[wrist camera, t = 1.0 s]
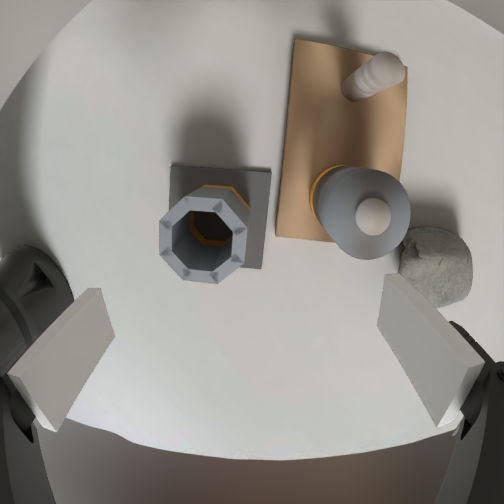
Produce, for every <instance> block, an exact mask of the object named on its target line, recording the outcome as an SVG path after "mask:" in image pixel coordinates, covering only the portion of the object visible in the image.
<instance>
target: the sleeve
mask: <svg viewBox="0 0 504 504" xmlns="http://www.w3.org/2000/svg"><path fill="white" fill-rule="evenodd" d="M250 209H251V208H250V207H249V205H248V204H247V203H246V202H245V201H244V199H243V198H242V197H241V196H240V195H239V194H238V192H237V191H236V190H235V189H234V188H233V187H230V186H216V185H204V186H202V187H200V188H198V189H197V190H195V191H193V192H191V193H190V194H188V195H186V196H185V197H184V198H183V199H182V200H180V201H179V202H178V203H177V204H176V205H175V206H174V207H173V208H172V209H171V210H170V211H169V212H168V213H167V214H166V215H164V216H163V217H162V218H161V219H160V220H159V252H160V256H161V257H162V258H163V259H164V260H165V261H166V262H167V263H168V265H169V266H170V267H171V268H172V269H173V270H174V271H175V272H176V273H177V274H178V275H179V276H180V277H181V278H182V279H183V280H186V281H194V282H204V283H213V284H218V283H219V282H221V281H222V280H223V279H224V278H226V277H227V276H228V275H230V274H231V273H232V272H234V271H235V270H236V269H237V268H239V267H240V266H241V265H243V264H244V261H245V254H246V246H247V239H248V230H249V220H250ZM194 211H205V212H216V213H217V214H218V215H219V217H220V218H221V219H222V220H223V221H224V222H225V223H226V225H227V226H228V227H229V228H230V229H231V230H232V231H233V234H232V235H231V236H230V237H229V238H227V239H226V240H225V241H219V240H208V239H205V237H204V236H203V235H202V234H201V233H200V232H199V231H198V230H197V229H196V227H195V226H194Z"/></svg>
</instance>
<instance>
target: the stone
mask: <svg viewBox="0 0 504 504" xmlns="http://www.w3.org/2000/svg"><path fill="white" fill-rule="evenodd" d="M403 245H404V246H405V250H404V251H403V253H402V255H401V262H400V266H399V270H398V273H399V274H400V275H402V276H403V277H404V278H405V279H406V280H407V281H408V282H409V283H410V284H411V285H412V286H413V287H414V288H415V289H416V290H417V291H418V292H419V293H420V294H422V295H423V296H424V297H425V298H426V299H427V300H428V301H429V302H430V303H431V304H432V305H433V306H434V307H435V308H440V307H444V306H447V305H450V304H453V303H456V302H458V301H461V300H463V299H465V298H466V297H467V296H468V294H469V292H470V289H471V286H472V279H473V265H472V257H471V253H470V250H469V248H468V246H467V245H466V243H465V242H464V241H463V240H462V238H460V237H459V236H458V235H456V234H454V233H452V232H449V231H447V230H444V229H441V228H437V227H429V226H427V227H417V228H413V229H410V230H408V231H407V232H406V234H405V236H404V238H403Z"/></svg>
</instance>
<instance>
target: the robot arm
mask: <svg viewBox="0 0 504 504" xmlns="http://www.w3.org/2000/svg"><path fill="white" fill-rule="evenodd" d="M377 327H378V328H379V330H380V332H381V333H382V335H383V336H384V338H385V339H386V341H387V343H388V344H389V346H390V348H391V349H392V351H393V352H394V354H395V356H396V357H397V359H398V361H399V362H400V364H401V366H402V367H403V369H404V371H405V372H406V374H407V376H408V377H409V379H410V381H411V383H412V384H413V386H414V388H415V390H416V391H417V393H418V395H419V397H420V398H421V400H422V402H423V404H424V406H425V407H426V409H427V411H428V413H429V415H430V417H431V418H432V420H433V422H434V424H435V426H436V428H437V427H439V426H442V425H445V424H447V423H450V422H452V421H454V419H455V417H456V416H457V414H458V413H459V411H460V410H461V412H462V413H463V415H464V417H463V419H462V420H461V422H460V423H459V425H458V426H457V428H456V429H455V431H454V432H453V434H452V436H455V435H456V433H457V432H458V435H457V439H456V442H455V446H454V450H453V453H452V456H451V459H450V463H449V466H448V469H447V472H446V475H445V477H444V480H443V483H442V485H441V488H440V491H439V493H438V496H437V498H436V500H435V503H434V504H504V362H501V361H500V362H497V363H495V362H494V360H493V359H492V358H491V357H490V356H489V355H488V354H487V353H486V352H485V350H484V349H483V348H482V347H481V346H480V345H479V344H478V343H477V342H475V340H474V339H473V338H472V337H471V336H469V333H468V332H467V331H466V330H465V329H464V328H463V327H462V326H460V325H458V324H456V323H455V322H453V321H449V322H448V321H447V320H446V319H445V318H444V317H443V315H442V314H441V313H440V312H439V311H438V310H437V309H436V308H435V307H434V306H433V305H432V304H431V303H430V302H429V301H428V300H427V299H426V298H425V297H424V296H423V295H422V294H420V293H419V292H418V291H417V290H416V289H415V288H414V287H413V286H412V285H411V284H410V283H409V282H408V281H407V280H406V279H405V278H404V277H403V276H402V275H400V274H399V273H396V274H385V277H384V285H383V292H382V298H381V305H380V311H379V317H378V322H377ZM114 337H115V334H114V331H113V328H112V325H111V322H110V319H109V315H108V312H107V309H106V306H105V302H104V299H103V295H102V292H101V288H88V289H87V290H86V291H84V292H83V293H82V294H81V295H80V296H79V297H78V298H77V299H76V300H75V301H74V300H73V297H72V294H71V291H70V288H69V286H68V284H67V282H66V280H65V278H64V276H63V275H62V273H61V271H60V270H59V269H58V267H57V266H56V265H55V263H54V262H53V261H52V260H51V259H50V258H49V257H48V256H47V255H46V254H44V253H43V252H42V251H40V250H39V249H37V248H34V247H32V246H20V247H17V248H16V249H14V250H12V251H10V252H8V253H7V254H6V255H5V256H4V257H3V258H2V260H1V261H0V504H56V502H55V500H54V496H53V493H52V490H51V487H50V484H49V481H48V477H47V474H46V470H45V466H44V462H43V458H42V454H41V450H40V445H39V440H38V434H37V429H36V427H35V425H34V423H33V420H34V419H35V417H36V418H37V420H38V421H39V422H40V424H41V425H42V426H43V427H44V428H47V429H49V430H52V431H55V432H57V431H58V430H59V427H60V426H61V424H62V422H63V420H64V419H65V417H66V415H67V414H68V412H69V410H70V408H71V407H72V405H73V403H74V401H75V400H76V398H77V396H78V395H79V393H80V391H81V390H82V388H83V386H84V385H85V383H86V381H87V380H88V378H89V376H90V375H91V373H92V372H93V370H94V368H95V367H96V365H97V364H98V362H99V360H100V359H101V357H102V356H103V354H104V353H105V351H106V349H107V348H108V346H109V345H110V343H111V342H112V340H113V339H114Z"/></svg>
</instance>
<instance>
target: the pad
mask: <svg viewBox="0 0 504 504" xmlns="http://www.w3.org/2000/svg"><path fill="white" fill-rule="evenodd" d="M271 174H272V173H269V172H258V171H248V170H236V169H222V168H207V167H187V166H171V173H170V196H169V211H170V210H171V209H172V208H173V207H174V206H175V205H176V204H177V203H178V202H179V201H180V200H182V199H183V198H184V197H185V196H186V195H188V194H190V193H191V192H193V191H195V190H197V189H198V188H200V187H202V186H204V185H216V186H230V187H233V188H234V189H235V190H236V191H237V192H238V194H239V195H240V196H241V197H242V198H243V199H244V201H245V202H246V203H247V204H248V205H249V207H250V208H251V209H250V220H249V230H248V239H247V246H246V254H245V261H244V264H243V265H241V266H240V267H244V268H255V269H261V267H262V258H263V249H264V240H265V231H266V221H267V212H268V203H269V193H270V184H271ZM194 226H195V227H196V229H197V230H198V231H199V232H200V233H201V234H202V235H203V236H204V237H205V239H208V240H219V241H225V240H226V239H227V238H229V237H230V236H231V235H232V234H233V231H232V230H231V229H230V228H229V227H228V226H227V225H226V223H225V222H224V221H223V220H222V219H221V218H220V217H219V215H218V214H217V213H216V212H205V211H194Z"/></svg>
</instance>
